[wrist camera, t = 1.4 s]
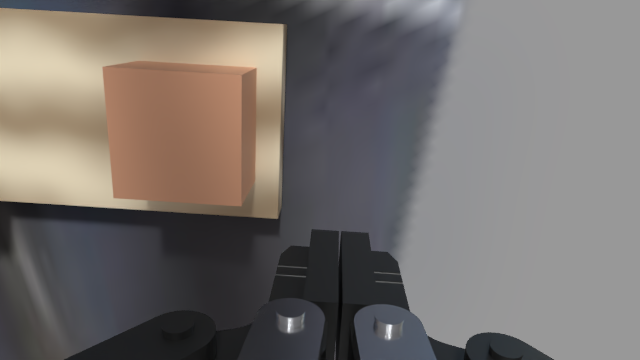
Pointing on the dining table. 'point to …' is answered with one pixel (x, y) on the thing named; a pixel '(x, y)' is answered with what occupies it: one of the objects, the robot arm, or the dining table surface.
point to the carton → (181, 131)
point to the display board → (90, 110)
